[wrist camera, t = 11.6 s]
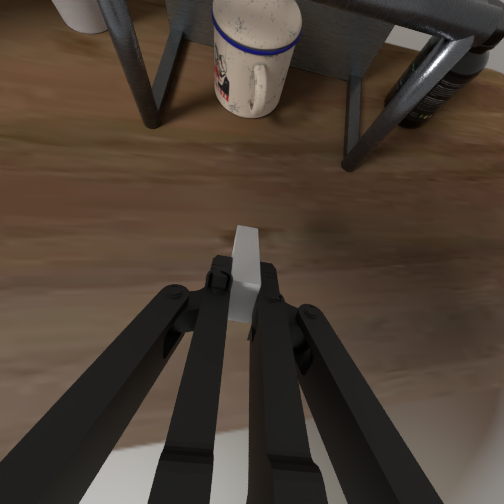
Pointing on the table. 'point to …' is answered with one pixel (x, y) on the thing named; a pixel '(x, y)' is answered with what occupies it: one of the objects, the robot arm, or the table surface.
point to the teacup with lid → (253, 52)
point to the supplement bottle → (446, 76)
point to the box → (320, 51)
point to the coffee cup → (81, 15)
